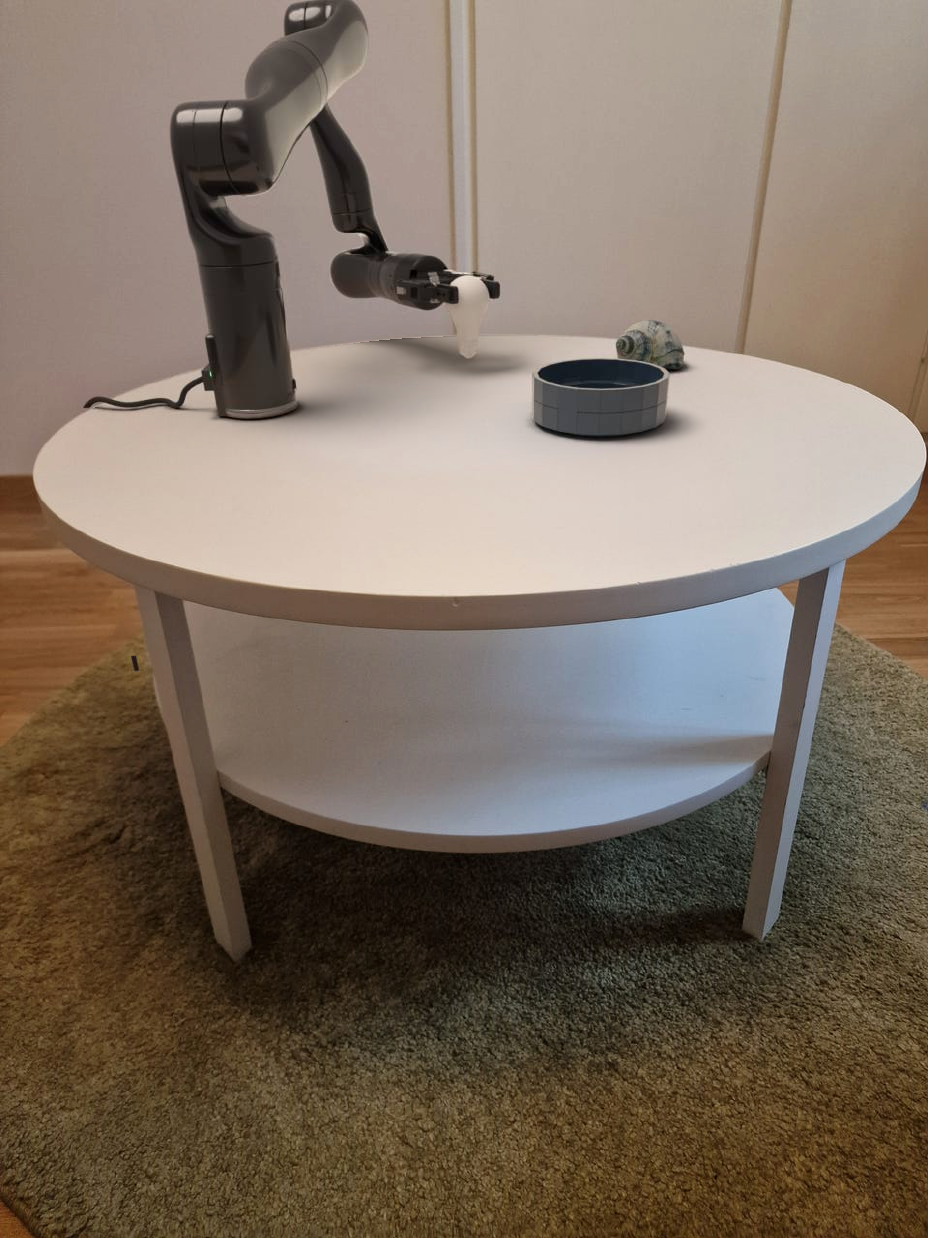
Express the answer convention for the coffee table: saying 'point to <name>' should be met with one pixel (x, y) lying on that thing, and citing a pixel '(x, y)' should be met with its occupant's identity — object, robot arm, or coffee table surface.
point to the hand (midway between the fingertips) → (477, 292)
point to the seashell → (651, 345)
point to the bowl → (599, 396)
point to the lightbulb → (469, 312)
